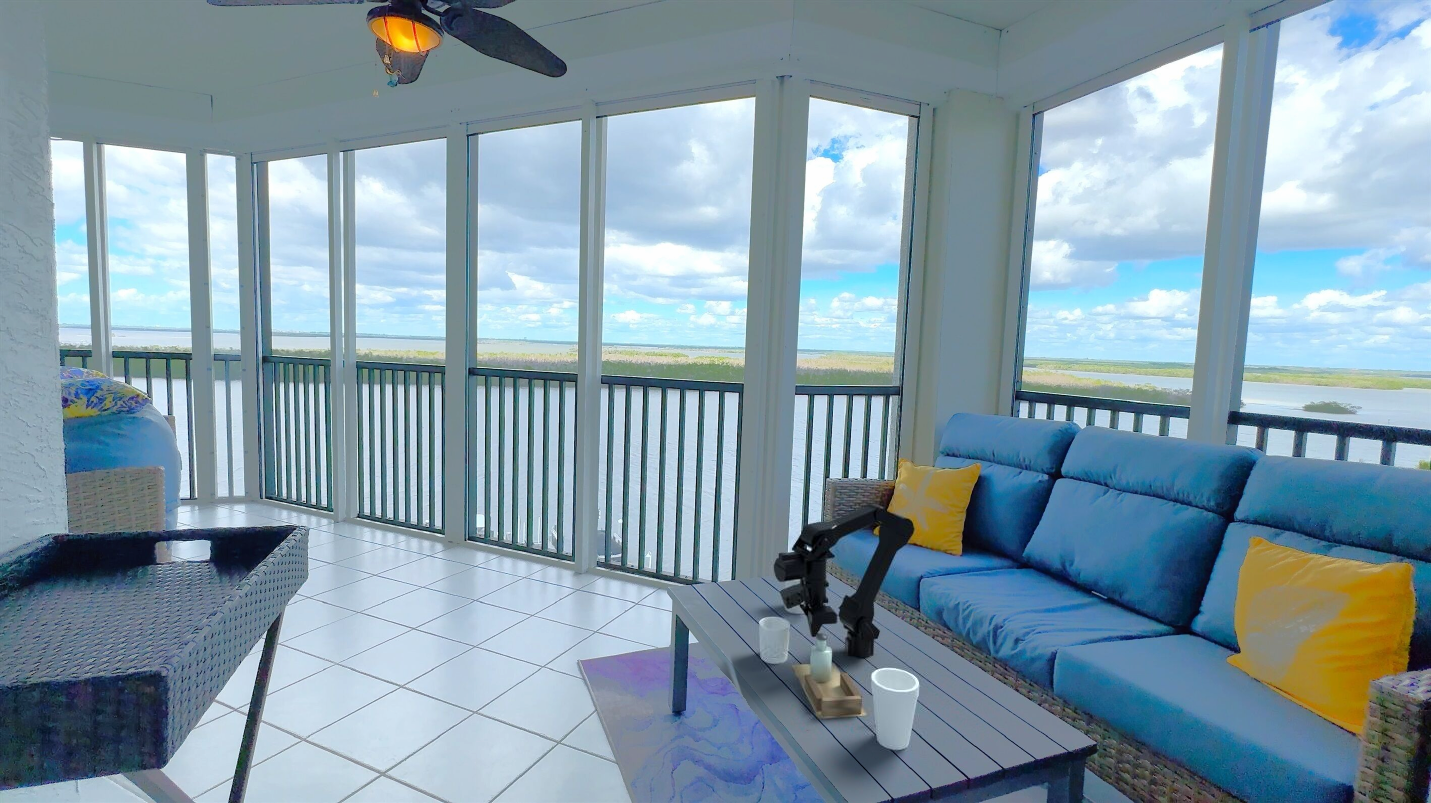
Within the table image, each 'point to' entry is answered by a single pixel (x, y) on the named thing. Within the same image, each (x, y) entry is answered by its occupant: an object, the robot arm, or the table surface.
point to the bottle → (821, 660)
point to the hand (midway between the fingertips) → (813, 636)
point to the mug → (797, 608)
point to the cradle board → (831, 693)
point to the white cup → (774, 639)
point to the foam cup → (894, 706)
